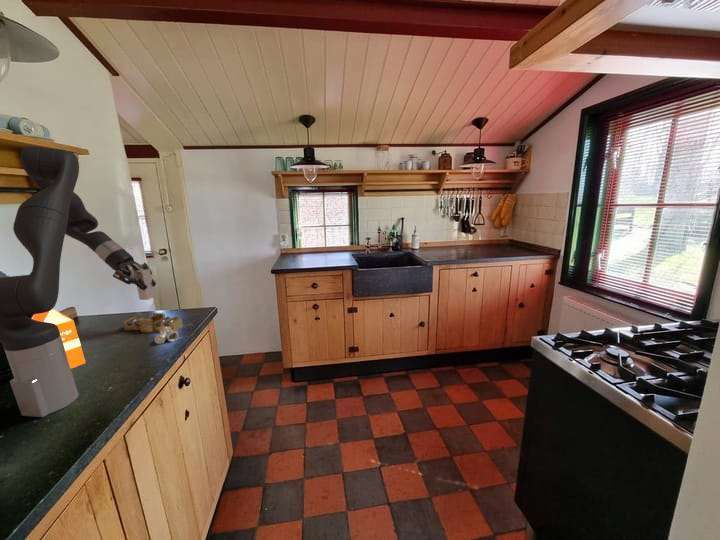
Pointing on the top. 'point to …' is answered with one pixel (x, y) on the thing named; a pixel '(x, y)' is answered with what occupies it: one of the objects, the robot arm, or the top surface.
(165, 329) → the pipe fitting
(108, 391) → the top surface
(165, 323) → the gold block with rollers
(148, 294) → the square grey block
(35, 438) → the top surface
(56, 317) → the orange juice
